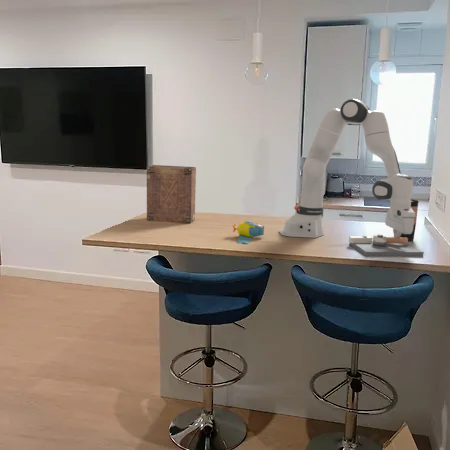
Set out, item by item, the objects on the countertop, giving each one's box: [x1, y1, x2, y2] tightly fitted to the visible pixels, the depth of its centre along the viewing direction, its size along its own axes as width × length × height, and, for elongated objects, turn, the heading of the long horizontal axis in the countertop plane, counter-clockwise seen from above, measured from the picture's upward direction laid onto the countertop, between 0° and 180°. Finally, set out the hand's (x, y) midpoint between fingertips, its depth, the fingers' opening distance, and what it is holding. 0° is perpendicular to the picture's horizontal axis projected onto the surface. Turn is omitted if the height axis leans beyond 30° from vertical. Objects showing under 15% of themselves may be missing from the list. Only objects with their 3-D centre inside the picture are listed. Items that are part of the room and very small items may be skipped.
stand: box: [348, 235, 424, 258], centre depth 216 cm, size 27×20×5 cm
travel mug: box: [400, 199, 419, 243], centre depth 236 cm, size 8×8×20 cm
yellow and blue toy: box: [232, 220, 265, 245], centre depth 232 cm, size 28×9×15 cm
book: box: [146, 164, 197, 224], centre depth 263 cm, size 25×9×30 cm, turn 79°
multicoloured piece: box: [372, 234, 409, 246], centre depth 218 cm, size 16×6×4 cm, turn 96°
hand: (396, 239), depth 220 cm, fingers closed
